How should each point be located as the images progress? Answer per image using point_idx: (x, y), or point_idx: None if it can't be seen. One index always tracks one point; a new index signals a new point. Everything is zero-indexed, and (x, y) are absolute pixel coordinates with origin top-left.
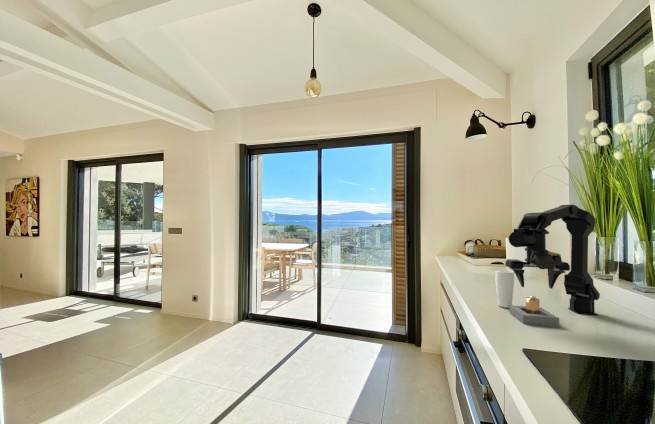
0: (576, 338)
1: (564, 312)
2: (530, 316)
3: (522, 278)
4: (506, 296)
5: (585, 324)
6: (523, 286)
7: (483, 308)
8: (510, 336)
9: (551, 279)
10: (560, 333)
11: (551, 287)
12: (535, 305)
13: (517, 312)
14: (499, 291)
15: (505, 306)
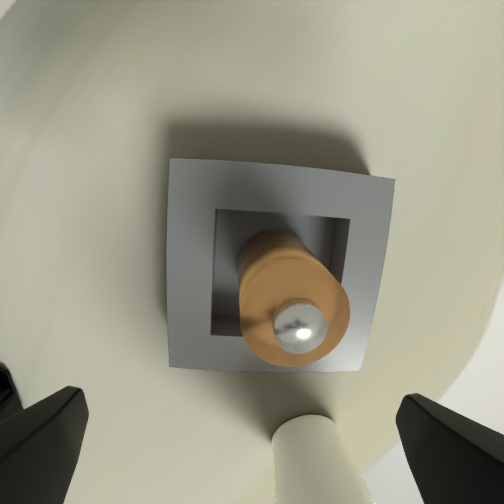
0: (201, 12)
1: (50, 389)
2: (351, 173)
3: (497, 447)
4: (331, 456)
5: (27, 236)
6: (415, 397)
7: (428, 374)
8: (476, 37)
9: (24, 479)
10: (242, 57)
11: (72, 393)
12: (293, 253)
13: (380, 257)
14: (362, 480)
15: (320, 417)
